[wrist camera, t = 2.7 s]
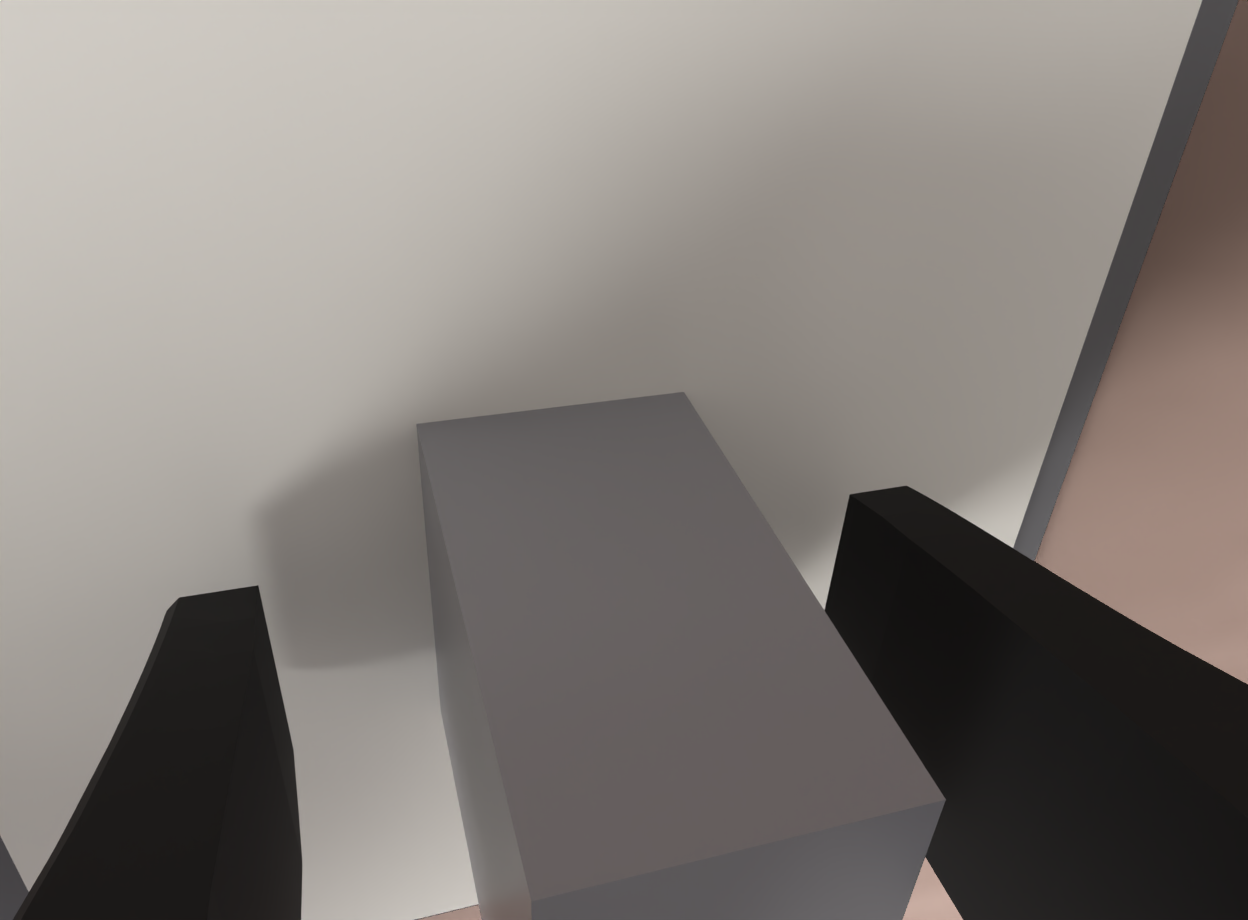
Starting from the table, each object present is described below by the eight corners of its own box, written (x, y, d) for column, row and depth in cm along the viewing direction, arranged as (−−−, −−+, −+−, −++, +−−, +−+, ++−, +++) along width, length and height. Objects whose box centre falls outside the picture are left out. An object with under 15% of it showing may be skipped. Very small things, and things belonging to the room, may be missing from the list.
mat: (933, 764, 16) (951, 790, 16) (27, 977, 13) (21, 1015, 13) (1267, -212, 9) (1314, -208, 8) (-682, -307, 5) (-753, -307, 5)
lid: (906, 761, 15) (1140, 1133, 11) (88, 951, 12) (16, 1539, 8) (1170, -73, 9) (1929, 109, 5) (-400, -80, 6) (-1688, 350, 2)
